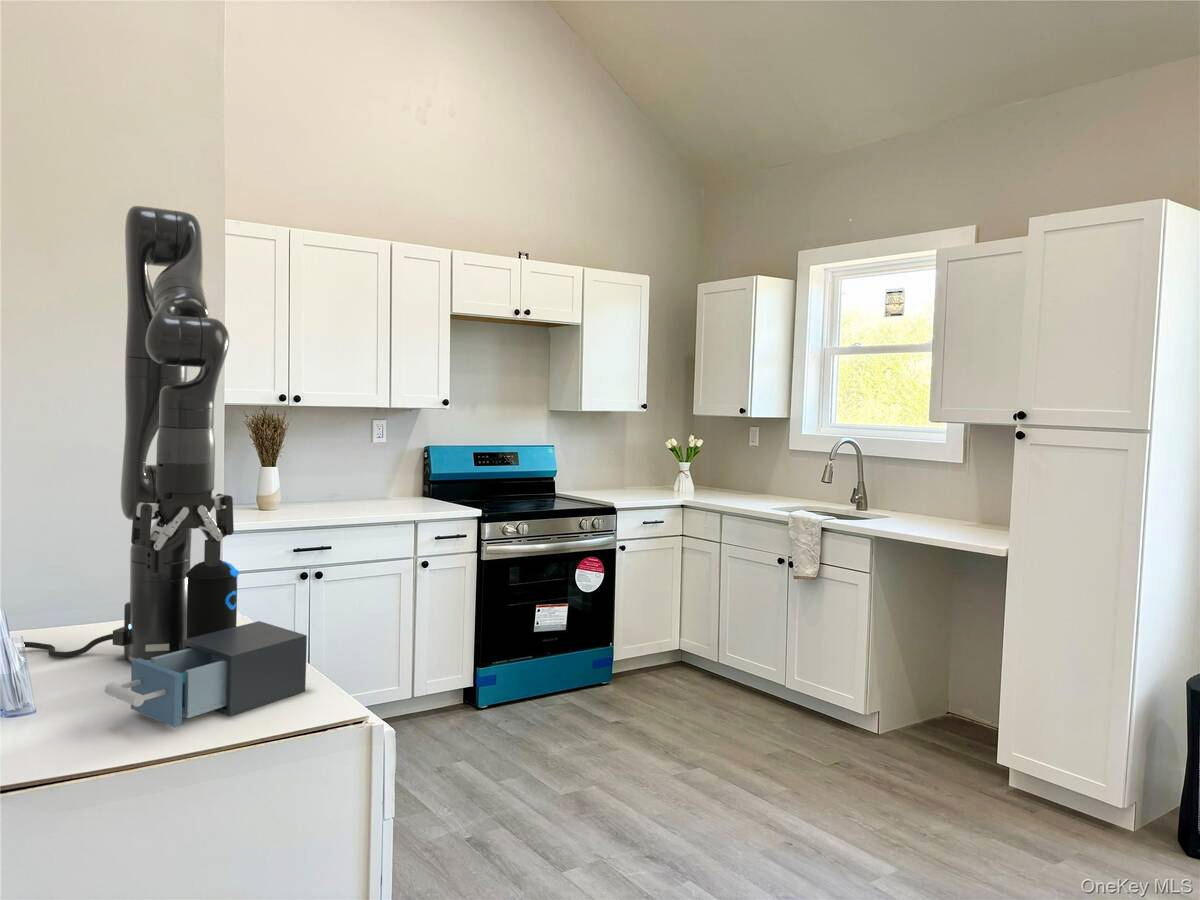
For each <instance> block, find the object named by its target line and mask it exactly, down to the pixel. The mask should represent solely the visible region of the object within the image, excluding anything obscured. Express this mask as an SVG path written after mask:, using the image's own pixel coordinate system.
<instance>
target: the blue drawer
mask: <svg viewBox="0 0 1200 900" xmlns="http://www.w3.org/2000/svg"><path fill="white" fill-rule="evenodd" d="M130 662H131V664H130V665H131V668H130V671H131V672H130V673H131V674H130V677H131V679H130V681H127V682H124V683H120V684H117V683H114V682H109V683H108V684H107V685H106V686H105V687H104V693H105V694H106V695H108V696H110V697H112V698H114V699H117V700H119V701H121V702H125V703H127V704H129V705H130V710H133V711H135V712H137V713H139V714H142V715H145V716H146V717H149V718H151V719H153V720H156V721H158V722H161V723H163V724H165V725H167V726H170V727H172V728H177V727H179V726H182V725H183V718H186V719H191V718H193V717H196V716H200V715H203V714H205V713H208V712H211V711H215V709H218V708H221V707H224V706H227V674H228V660H226V659H223V658H220V657H218V656H215V655H212V654H209V653H206V652H203V651H200V650H197V649H194V648H189V649H185V650H181V651H177V652H173V653H169V654H165V655H161V656H157V657H153V658H151V662H149V661H147V660H144V659H141V658H137V659H133V660H132V661H130ZM184 671H185V707H182V679H183V674H181V672H184ZM129 688H130V689H129Z"/></svg>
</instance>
